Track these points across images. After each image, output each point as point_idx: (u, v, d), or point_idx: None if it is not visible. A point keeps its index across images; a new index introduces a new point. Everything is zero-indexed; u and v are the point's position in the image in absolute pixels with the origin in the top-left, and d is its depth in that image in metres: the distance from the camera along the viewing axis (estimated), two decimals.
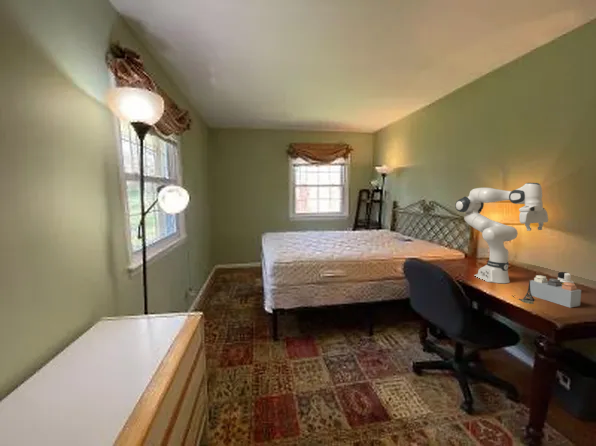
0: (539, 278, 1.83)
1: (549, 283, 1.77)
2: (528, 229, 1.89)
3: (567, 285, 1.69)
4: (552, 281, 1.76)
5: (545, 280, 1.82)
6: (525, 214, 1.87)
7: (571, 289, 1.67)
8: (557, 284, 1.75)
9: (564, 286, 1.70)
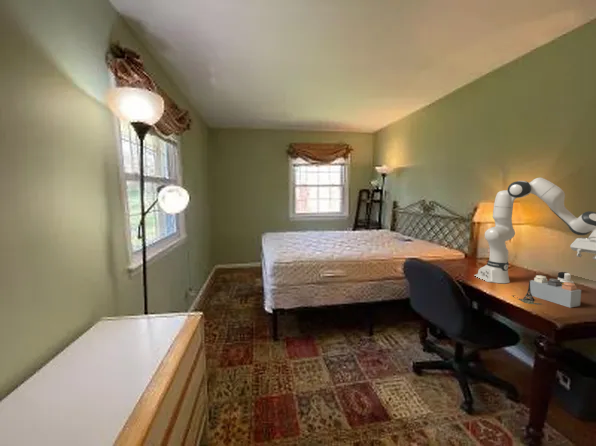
0: (539, 278, 1.83)
1: (549, 283, 1.77)
2: None
3: (567, 285, 1.69)
4: (552, 281, 1.76)
5: (545, 280, 1.82)
6: None
7: (571, 289, 1.67)
8: (557, 284, 1.75)
9: (564, 286, 1.70)
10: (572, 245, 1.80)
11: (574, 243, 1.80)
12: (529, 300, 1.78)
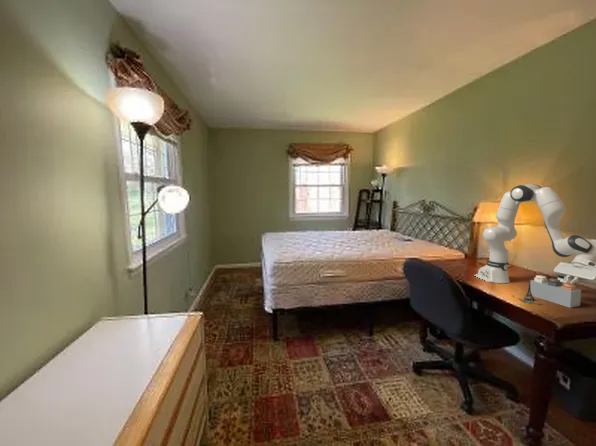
0: (539, 278, 1.83)
1: (549, 283, 1.77)
2: (572, 283, 1.68)
3: (567, 286, 1.69)
4: (552, 281, 1.76)
5: (545, 280, 1.82)
6: None
7: (571, 290, 1.67)
8: (557, 284, 1.75)
9: (564, 287, 1.70)
10: (555, 269, 1.78)
11: (557, 268, 1.78)
12: (529, 300, 1.78)
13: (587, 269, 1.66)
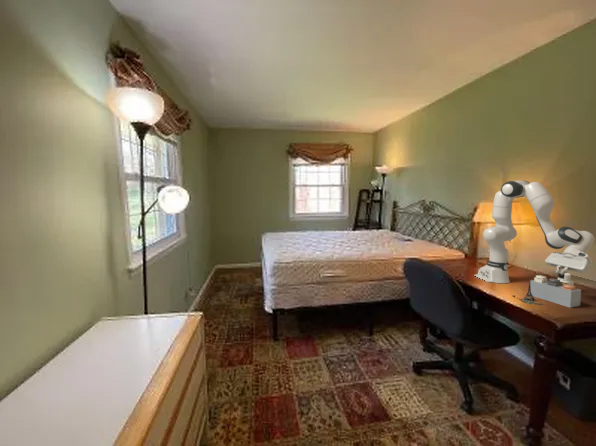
0: (539, 278, 1.83)
1: (549, 283, 1.77)
2: (562, 273, 1.72)
3: (567, 287, 1.69)
4: (552, 281, 1.76)
5: (545, 280, 1.82)
6: (589, 266, 1.66)
7: None
8: (557, 284, 1.75)
9: (564, 288, 1.70)
10: (547, 260, 1.82)
11: (549, 258, 1.82)
12: (529, 300, 1.78)
13: (577, 259, 1.70)
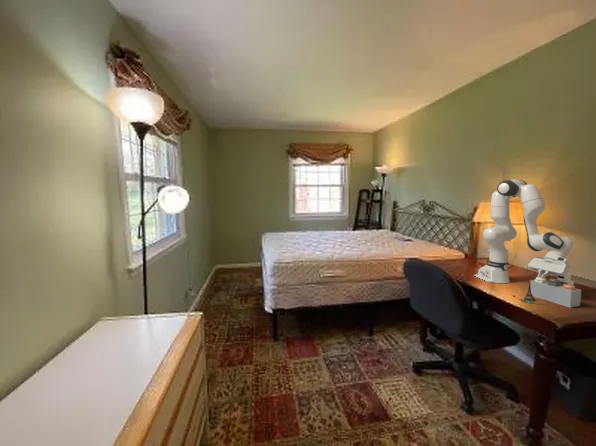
0: (539, 280, 1.83)
1: (549, 283, 1.77)
2: (543, 276, 1.82)
3: (567, 287, 1.69)
4: (552, 281, 1.76)
5: (545, 282, 1.82)
6: (568, 269, 1.76)
7: None
8: (557, 284, 1.75)
9: (564, 288, 1.70)
10: (529, 264, 1.92)
11: (531, 263, 1.92)
12: (529, 300, 1.78)
13: (557, 264, 1.80)
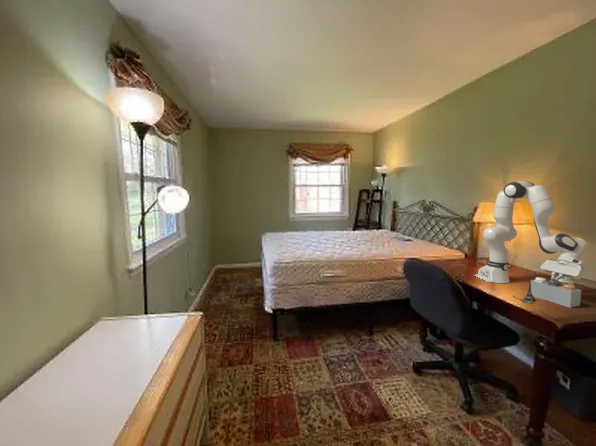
0: (539, 280, 1.83)
1: (549, 284, 1.77)
2: (557, 279, 1.75)
3: (567, 287, 1.69)
4: (552, 282, 1.76)
5: (545, 282, 1.82)
6: (583, 272, 1.69)
7: None
8: (557, 285, 1.75)
9: (564, 288, 1.70)
10: (542, 267, 1.85)
11: (544, 265, 1.85)
12: (530, 300, 1.78)
13: (571, 266, 1.73)
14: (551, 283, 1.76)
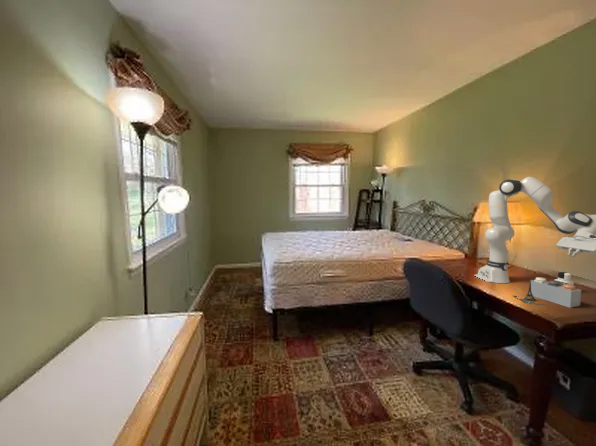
0: (539, 280, 1.83)
1: None
2: (574, 255, 1.78)
3: (567, 287, 1.69)
4: (552, 283, 1.76)
5: (545, 282, 1.82)
6: None
7: None
8: (557, 286, 1.75)
9: (564, 288, 1.70)
10: (558, 244, 1.88)
11: (560, 242, 1.87)
12: (530, 300, 1.77)
13: (588, 241, 1.75)
14: (551, 284, 1.76)
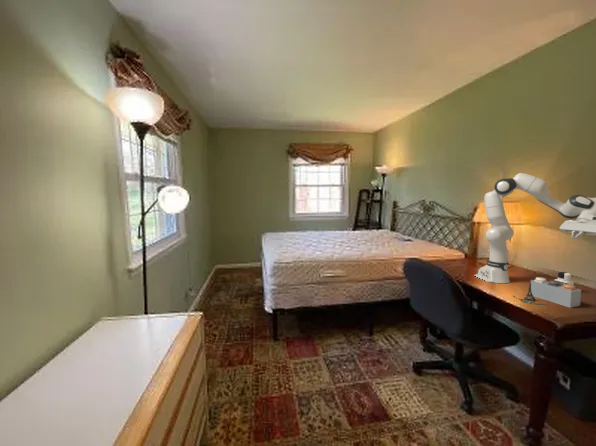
0: (539, 280, 1.83)
1: None
2: (577, 237, 1.79)
3: (567, 287, 1.69)
4: (552, 283, 1.76)
5: (545, 282, 1.82)
6: None
7: None
8: (557, 286, 1.75)
9: (564, 288, 1.70)
10: (561, 227, 1.89)
11: (563, 225, 1.89)
12: (530, 300, 1.77)
13: (591, 223, 1.77)
14: (551, 284, 1.76)
